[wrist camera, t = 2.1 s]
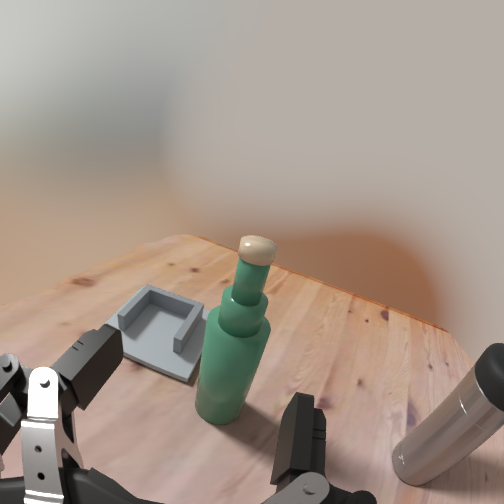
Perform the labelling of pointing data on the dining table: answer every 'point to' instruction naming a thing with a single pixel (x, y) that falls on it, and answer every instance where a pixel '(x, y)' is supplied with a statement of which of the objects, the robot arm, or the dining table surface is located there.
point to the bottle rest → (162, 331)
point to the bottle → (235, 336)
